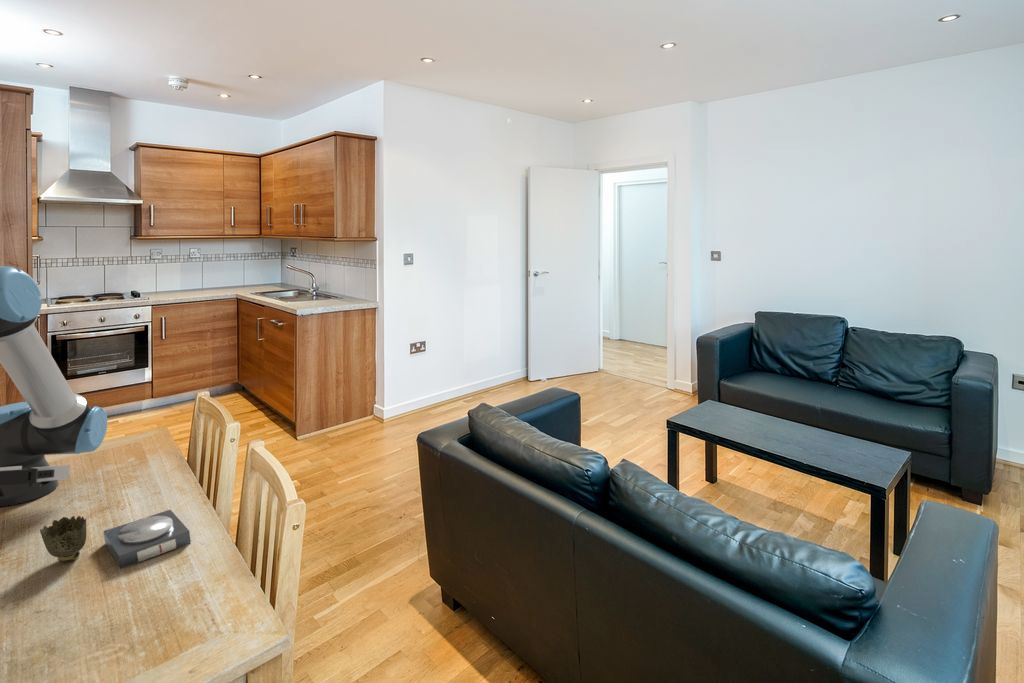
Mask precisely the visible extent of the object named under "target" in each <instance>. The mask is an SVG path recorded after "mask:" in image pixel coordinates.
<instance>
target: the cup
mask: <svg viewBox="0 0 1024 683" xmlns="http://www.w3.org/2000/svg"><path fill="white" fill-rule="evenodd" d="M39 532H40V535H41V538H42V541H43V544H44V546H45V549H46V551H47V552H48V554H49V555H51V556H52V557H54V558H57V561H58V562H59V563H60V564H64V563H65V564H67V563H71V562H74V561H75V560H77V559H78V558H79V557H80V555H81V552H80V551H81V550H82V549H83V548H84V546H85V544H86V542H87V518H84V516H80V515H78V516H77V517H76V518H75V515H73V516H71V517H70V518H68V517H65V516H62V517H61V518H60V519H59V520H57V519H54V520H53V521H52V523H51V525H49V526H48V525H43V528H41V529H40V531H39Z"/></svg>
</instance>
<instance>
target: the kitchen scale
mask: <svg viewBox="0 0 1024 683" xmlns="http://www.w3.org/2000/svg"><path fill="white" fill-rule="evenodd" d="M103 537H104V544H105V545H106V547H107V549H108V551H109V552H110V554H111V555H112V557H113V558H114V560H115V561H116V563H117V565H118V567H119V568H120V569H125V568H127V567H128V568H129V567H130V566H133V565H135V564H137V563H141V562H143V561H146V560H149V559H151V558H154V557H157V556H159V555H162V554H165V553H168V552H171V551H172V550H173V551H174V550H176V549H178V548H181V547H184V546H186V544H187V545H189V544H191V543H190V542H191V533H190V529H188V528H187V526H186V525H185V524H184V523H183V522H182V521H181V520H180V519H179V517H177V515H176V514H175V513H174V512H173V511H172V509H167V510H165V511H162V512H158V513H154V514H153V515H152V514H151V515H148V516H145V517H142V518H138V519H136V520H134V521H131V522H128V523H124V524H121V525H117V526H116V527H113V528H108V529H106V530H103ZM188 543H189V544H188ZM183 545H184V546H183Z"/></svg>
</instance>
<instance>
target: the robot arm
mask: <svg viewBox="0 0 1024 683" xmlns="http://www.w3.org/2000/svg"><path fill="white" fill-rule="evenodd" d="M41 296H42V294H41V290H40V288H39V286H38V285H37V283H36V281H35V280H34V279H33V278H32V276H31V275H30V274H28V273H27V272H26V271H23V270H22V269H20V268H17V267H14V266H6V265H4V266H2V265H0V364H1V365H2V367H3V369H4V370H5V372H6V373H7V374H8V376H9V378H10V379H11V381H12V382H13V383H14V385H15V387H16V388H17V390H18V391H19V393H20V394H21V396H22V397H23V400H25V401H21V402H15V403H10V404H6V405H2V406H0V506H2V507H9V506H8V505H10V506H15V505H19V504H18V503H20V504H23V502H24V503H27V501H28V502H31V501H34V500H36V499H40V498H41V497H44V496H46V495H48V494H50V493H52V492H54V490H56V489H57V488H58V486H59V480H61V481H62V480H67V479H70V468H71V467H70V464H62V465H61V464H60V465H51V464H50V463H49V462H48V461H47V460H46V457H45V456H48V455H49V456H50V455H73V454H75V455H79V454H83V453H92V452H94V451H96V450H97V449H98V448H99V447H100V446H101V445H102V443H103V442H104V440H105V437H106V434H107V430H108V416H107V412H106V410H105V409H104V408H103V407H102V406H96V405H95V406H90V405H89V403H88V401H87V400H86V398H85V397H83V396H82V395H81V394H78V393H74V392H73V390H72V389H71V387H70V385H69V383H68V382H67V381H68V380H66V378H65V376H64V375H63V373H62V371H61V369H60V368H59V365H58V364H57V362H56V360H55V359H54V358H53V355H52V353H51V352H50V349H48V347H47V345H46V343H45V342H44V340H43V338H42V337H41V335H40V333H39V332H38V330H37V328H36V326H35V323H36V322H37V320H38V315H39V313H40V312H41V309H42V302H43V300H41V298H40V297H41ZM56 487H57V488H56ZM30 500H31V501H30ZM14 504H15V505H14Z"/></svg>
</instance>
